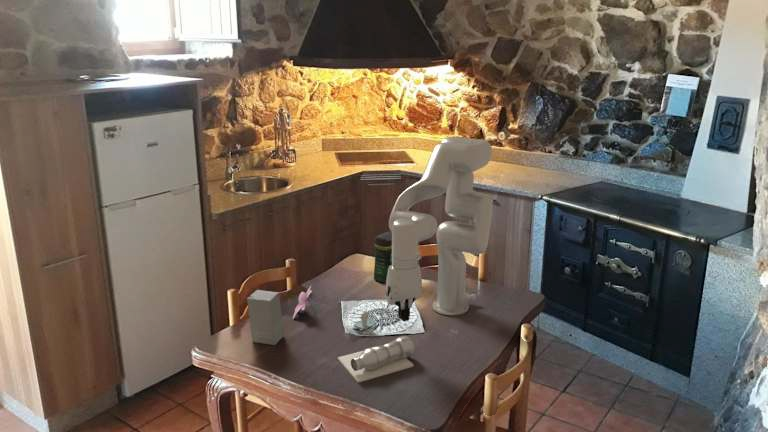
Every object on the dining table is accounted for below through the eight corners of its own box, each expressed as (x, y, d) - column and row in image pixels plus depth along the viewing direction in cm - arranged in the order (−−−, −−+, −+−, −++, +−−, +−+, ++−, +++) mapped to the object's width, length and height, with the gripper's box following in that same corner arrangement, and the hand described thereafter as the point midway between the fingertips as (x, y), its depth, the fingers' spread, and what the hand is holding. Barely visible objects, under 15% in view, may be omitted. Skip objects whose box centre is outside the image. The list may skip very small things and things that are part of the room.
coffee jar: (386, 285, 234) (387, 239, 228) (370, 280, 238) (370, 235, 232) (401, 277, 241) (402, 232, 235) (385, 272, 246) (385, 228, 240)
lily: (305, 305, 219) (290, 286, 215) (331, 299, 214) (317, 278, 210) (293, 329, 210) (278, 309, 206) (321, 323, 204) (306, 302, 200)
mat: (390, 345, 191) (390, 343, 190) (413, 366, 179) (413, 364, 179) (337, 359, 183) (337, 357, 182) (357, 382, 171) (357, 380, 171)
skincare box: (284, 336, 195) (282, 291, 191) (273, 347, 189) (270, 300, 184) (261, 332, 198) (258, 287, 193) (249, 342, 192) (246, 296, 187)
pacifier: (348, 329, 201) (361, 334, 197) (347, 311, 199) (360, 316, 195) (363, 321, 206) (376, 326, 202) (362, 304, 204) (376, 308, 201)
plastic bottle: (401, 338, 187) (345, 357, 176) (411, 331, 182) (354, 350, 171) (410, 358, 185) (353, 379, 174) (420, 351, 180) (362, 372, 169)
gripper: (420, 253, 182) (419, 308, 188) (375, 261, 176) (375, 319, 181) (433, 261, 176) (432, 319, 181) (387, 270, 169) (387, 330, 175)
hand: (404, 319), depth 181 cm, fingers closed
